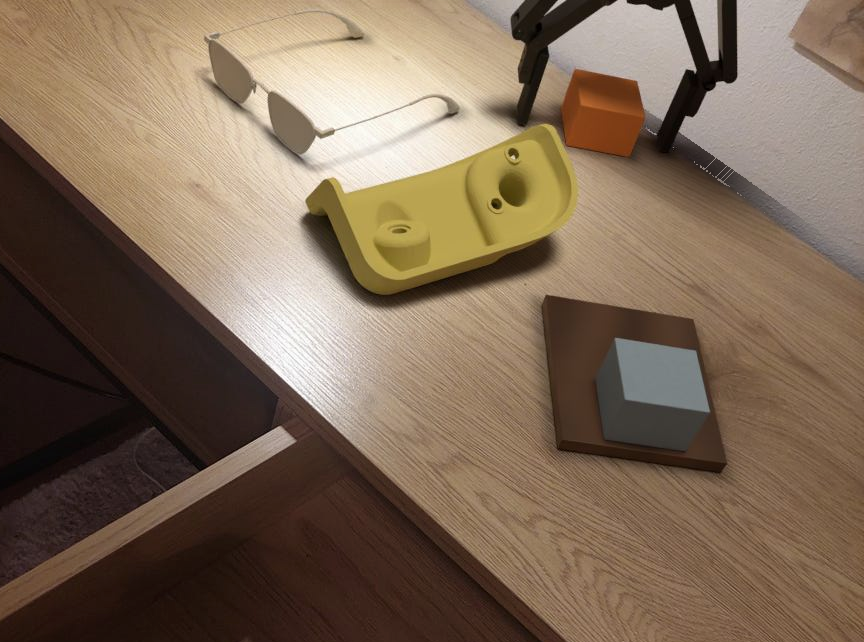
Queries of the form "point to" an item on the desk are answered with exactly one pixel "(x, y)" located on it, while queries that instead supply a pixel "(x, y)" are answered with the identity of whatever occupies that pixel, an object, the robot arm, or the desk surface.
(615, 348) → the grey-blue cube
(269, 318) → the desk surface
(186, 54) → the desk surface
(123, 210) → the desk surface
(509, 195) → the plastic component
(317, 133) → the eyeglasses
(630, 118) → the orange cube
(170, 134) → the desk surface
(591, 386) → the board
